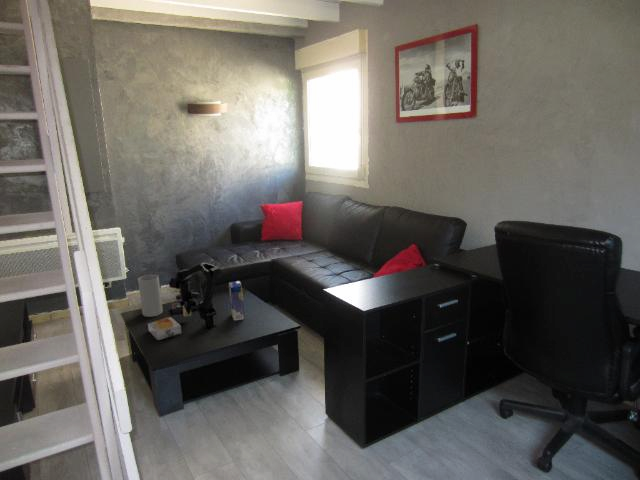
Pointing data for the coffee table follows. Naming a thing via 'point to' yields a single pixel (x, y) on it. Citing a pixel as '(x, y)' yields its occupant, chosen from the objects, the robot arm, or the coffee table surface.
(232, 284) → the beverage box
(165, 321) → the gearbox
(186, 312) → the brass can
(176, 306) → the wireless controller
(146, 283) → the cylinder vase
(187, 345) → the coffee table surface
